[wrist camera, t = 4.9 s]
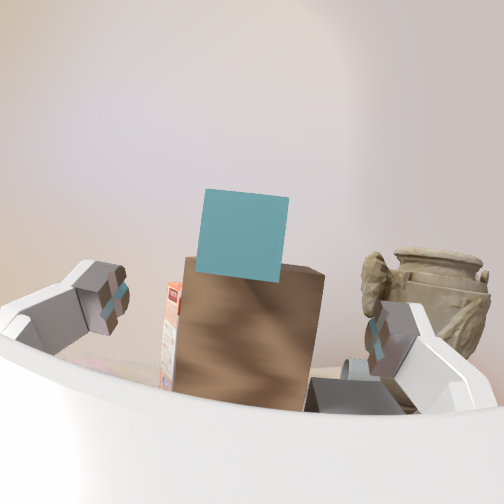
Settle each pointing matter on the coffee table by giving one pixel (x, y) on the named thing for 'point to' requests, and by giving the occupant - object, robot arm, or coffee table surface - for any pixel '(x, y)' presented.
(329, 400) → the grey block
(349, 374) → the ceramic mug
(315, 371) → the coffee table surface
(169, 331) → the cracker box
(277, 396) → the walnut tower
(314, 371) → the coffee table surface
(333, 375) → the coffee table surface
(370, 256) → the urn
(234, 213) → the teal bar
